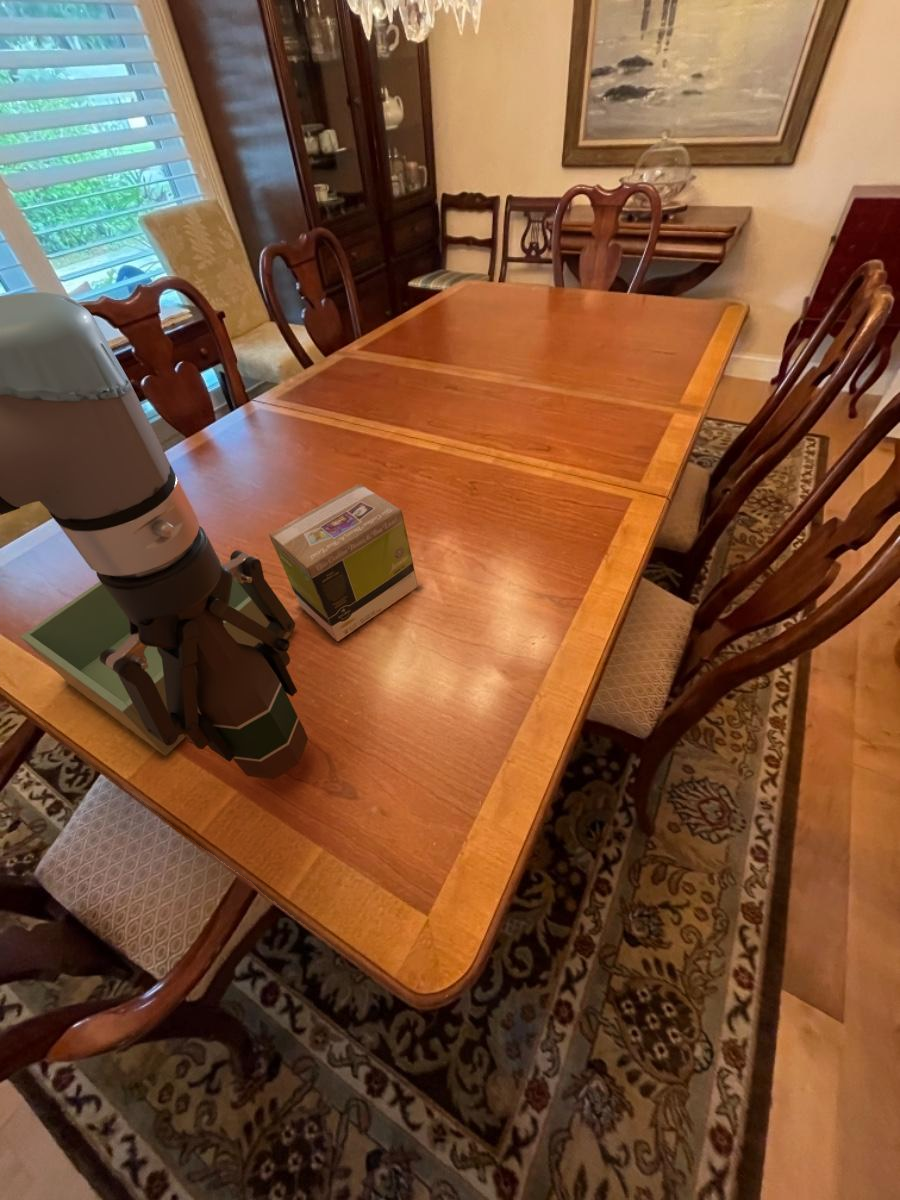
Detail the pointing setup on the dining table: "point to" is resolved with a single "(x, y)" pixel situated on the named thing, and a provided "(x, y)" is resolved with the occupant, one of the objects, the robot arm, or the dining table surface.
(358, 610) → the tea box
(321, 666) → the dining table surface
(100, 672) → the open storage bin
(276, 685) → the beer bottle
